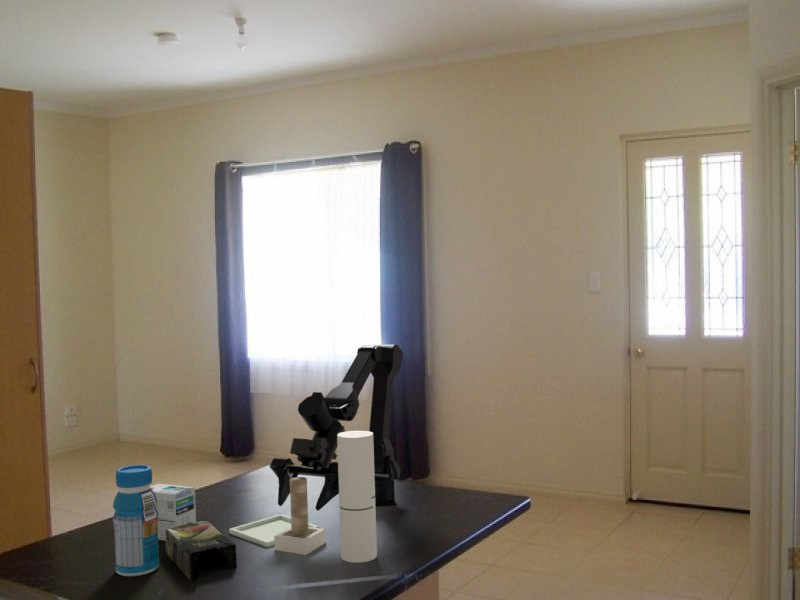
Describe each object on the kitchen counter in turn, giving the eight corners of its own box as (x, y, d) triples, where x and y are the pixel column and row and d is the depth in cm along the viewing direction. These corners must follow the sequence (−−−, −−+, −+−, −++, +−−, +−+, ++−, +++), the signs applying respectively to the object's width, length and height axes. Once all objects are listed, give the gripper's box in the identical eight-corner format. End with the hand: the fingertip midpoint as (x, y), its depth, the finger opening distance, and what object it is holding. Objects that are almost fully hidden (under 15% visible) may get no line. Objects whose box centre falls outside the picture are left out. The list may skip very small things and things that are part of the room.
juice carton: (161, 552, 165) (161, 523, 164) (208, 543, 170) (207, 515, 169) (188, 584, 147) (187, 552, 147) (239, 573, 152) (238, 542, 152)
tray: (281, 520, 183) (281, 514, 183) (319, 533, 173) (319, 526, 173) (229, 536, 173) (229, 528, 173) (266, 550, 164) (266, 542, 163)
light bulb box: (197, 534, 176) (196, 486, 175) (177, 543, 170) (175, 493, 169) (160, 528, 180) (158, 482, 180) (139, 538, 174) (137, 489, 174)
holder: (295, 541, 169) (294, 525, 169) (325, 545, 165) (325, 528, 165) (274, 552, 162) (274, 535, 162) (306, 557, 158) (305, 540, 158)
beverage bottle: (116, 580, 149) (112, 475, 148) (113, 566, 157) (109, 466, 156) (162, 573, 152) (158, 470, 152) (157, 559, 160) (153, 461, 160)
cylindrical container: (382, 554, 159) (378, 431, 158) (369, 566, 152) (365, 438, 152) (349, 551, 161) (345, 430, 161) (335, 563, 155) (331, 437, 154)
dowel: (308, 542, 166) (306, 476, 165) (309, 548, 162) (307, 480, 162) (291, 544, 165) (289, 477, 165) (292, 549, 161) (290, 481, 161)
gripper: (273, 420, 171) (243, 482, 162) (347, 424, 163) (321, 491, 154) (294, 448, 179) (267, 510, 169) (366, 454, 170) (342, 519, 161)
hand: (297, 507), depth 163 cm, fingers open, 9 cm apart
